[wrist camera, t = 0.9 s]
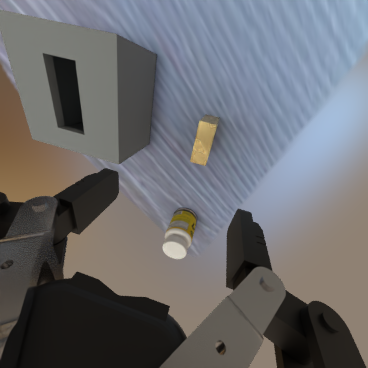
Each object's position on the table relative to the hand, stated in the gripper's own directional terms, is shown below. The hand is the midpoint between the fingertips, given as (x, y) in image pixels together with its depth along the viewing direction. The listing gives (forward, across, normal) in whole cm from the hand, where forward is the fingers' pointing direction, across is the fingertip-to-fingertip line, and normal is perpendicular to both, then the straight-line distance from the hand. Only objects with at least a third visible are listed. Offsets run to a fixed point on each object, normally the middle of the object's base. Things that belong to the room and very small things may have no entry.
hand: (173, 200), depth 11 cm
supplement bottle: (+17, 0, +16) cm, 23 cm away
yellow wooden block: (+17, 0, 0) cm, 17 cm away
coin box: (+17, +15, -2) cm, 22 cm away
